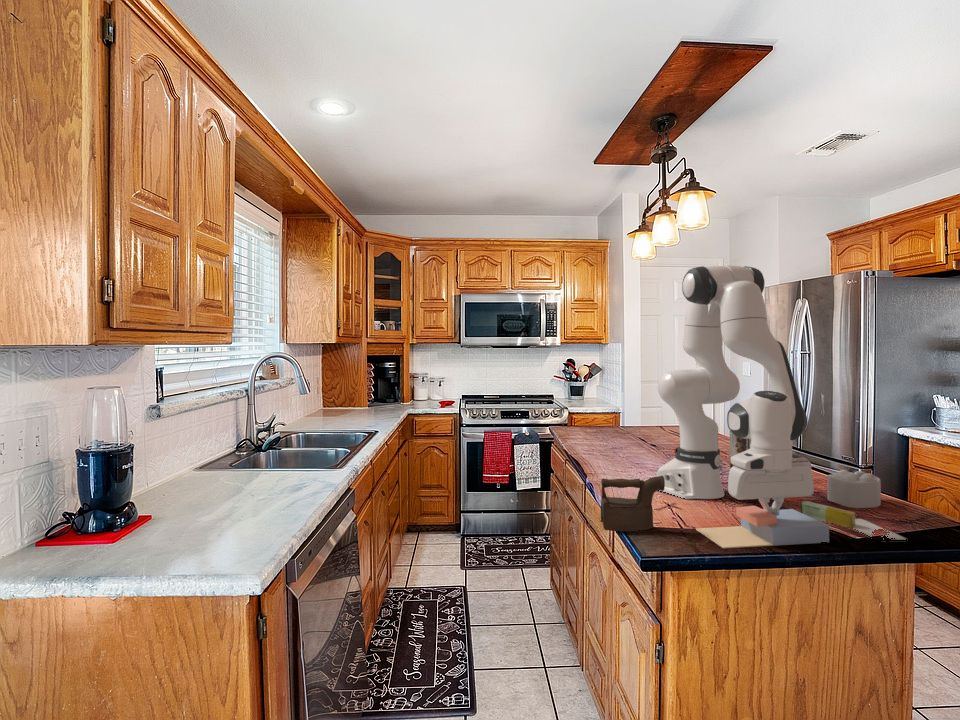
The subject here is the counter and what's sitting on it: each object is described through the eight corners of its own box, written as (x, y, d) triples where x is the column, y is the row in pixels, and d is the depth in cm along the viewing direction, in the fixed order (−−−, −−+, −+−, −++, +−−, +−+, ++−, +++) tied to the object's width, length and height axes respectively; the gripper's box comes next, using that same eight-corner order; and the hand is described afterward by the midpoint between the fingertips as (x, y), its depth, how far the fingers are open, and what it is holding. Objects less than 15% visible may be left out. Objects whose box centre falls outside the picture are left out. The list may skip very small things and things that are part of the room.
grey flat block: (792, 524, 128) (792, 509, 128) (829, 542, 117) (829, 525, 116) (740, 527, 127) (740, 511, 127) (772, 545, 115) (772, 528, 115)
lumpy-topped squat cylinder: (821, 498, 150) (821, 469, 150) (859, 495, 152) (859, 467, 152) (852, 509, 140) (852, 478, 140) (892, 506, 142) (892, 475, 142)
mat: (740, 527, 127) (740, 526, 127) (772, 545, 115) (772, 544, 115) (695, 529, 126) (695, 528, 126) (723, 548, 114) (723, 547, 114)
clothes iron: (666, 534, 124) (666, 480, 123) (600, 530, 127) (600, 477, 126) (661, 522, 132) (661, 472, 131) (599, 519, 135) (599, 470, 134)
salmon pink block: (754, 513, 125) (754, 505, 125) (777, 524, 117) (776, 516, 117) (736, 515, 125) (735, 507, 125) (757, 526, 117) (756, 518, 117)
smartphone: (861, 518, 132) (909, 539, 117) (861, 520, 132) (909, 542, 117) (833, 518, 132) (877, 539, 117) (833, 521, 132) (877, 542, 117)
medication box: (799, 516, 135) (799, 501, 135) (804, 514, 136) (804, 499, 136) (851, 529, 125) (851, 514, 125) (856, 527, 126) (856, 511, 126)
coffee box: (764, 477, 174) (764, 431, 173) (755, 480, 170) (755, 433, 170) (738, 472, 181) (738, 428, 181) (729, 475, 178) (728, 430, 177)
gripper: (801, 454, 125) (801, 508, 126) (724, 457, 123) (724, 513, 124) (820, 459, 119) (820, 517, 119) (740, 463, 117) (740, 521, 117)
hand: (771, 515), depth 121 cm, fingers closed
